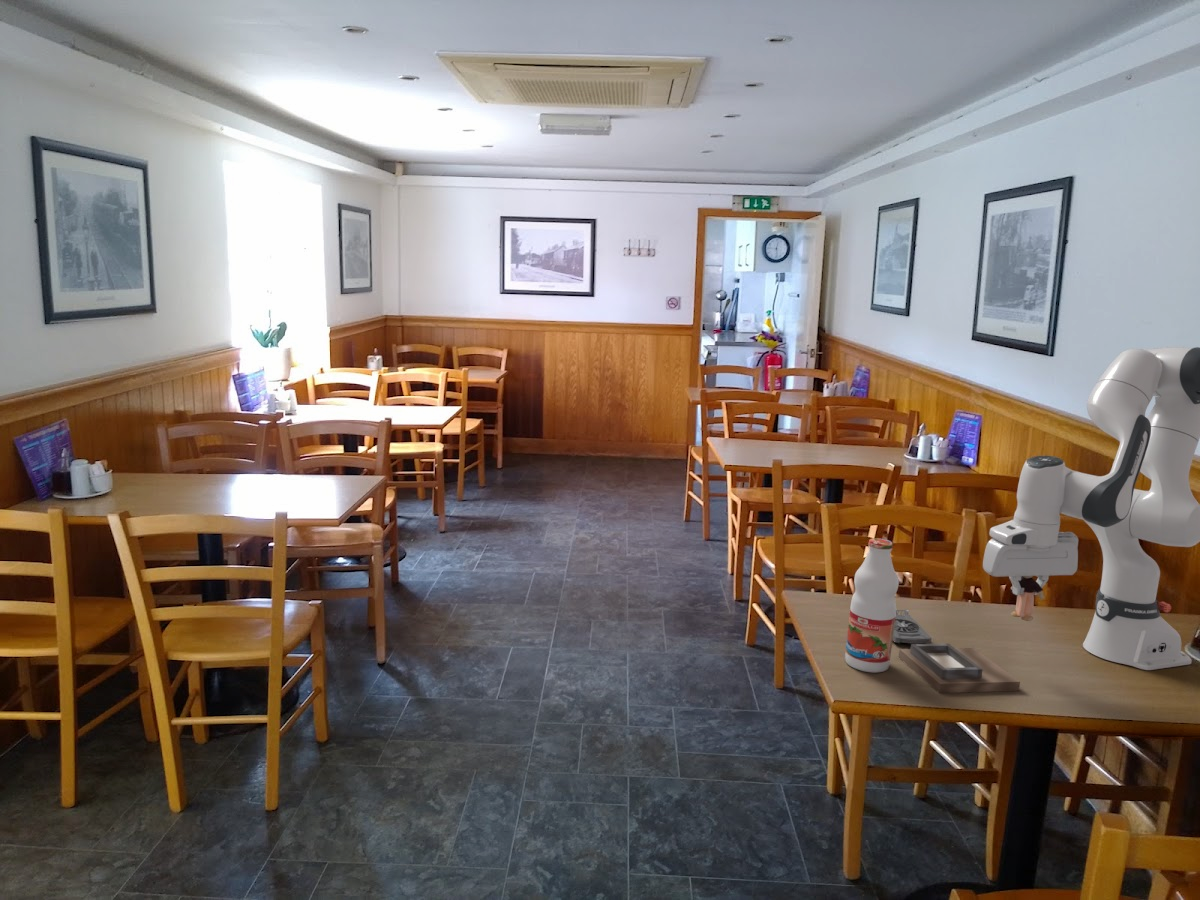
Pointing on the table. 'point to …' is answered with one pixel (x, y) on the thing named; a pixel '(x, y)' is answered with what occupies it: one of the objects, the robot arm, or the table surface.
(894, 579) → the fruit juice
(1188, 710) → the table surface
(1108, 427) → the robot arm
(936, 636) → the table surface
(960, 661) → the display stand
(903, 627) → the graphics card
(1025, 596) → the grandmother figurine
